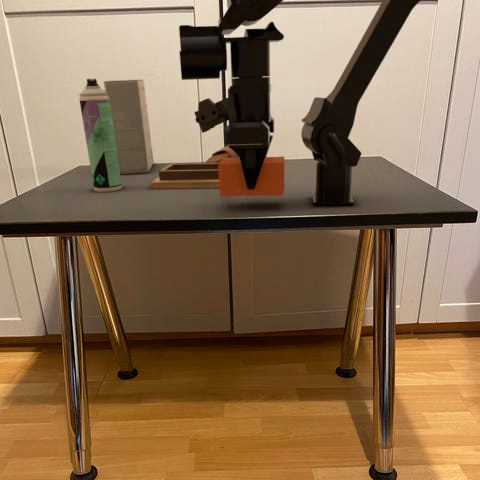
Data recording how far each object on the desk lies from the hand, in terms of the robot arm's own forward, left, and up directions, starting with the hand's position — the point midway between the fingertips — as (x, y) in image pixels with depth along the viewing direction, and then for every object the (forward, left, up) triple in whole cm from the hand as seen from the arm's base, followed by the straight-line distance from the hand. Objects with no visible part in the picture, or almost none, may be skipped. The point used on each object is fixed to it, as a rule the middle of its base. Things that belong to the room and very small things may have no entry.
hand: (252, 185), depth 78 cm
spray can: (+16, +31, -4) cm, 35 cm away
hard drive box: (+41, +33, -4) cm, 53 cm away
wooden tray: (+23, +14, -3) cm, 27 cm away
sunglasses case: (+45, +11, -4) cm, 46 cm away
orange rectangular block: (0, 0, -1) cm, 1 cm away
